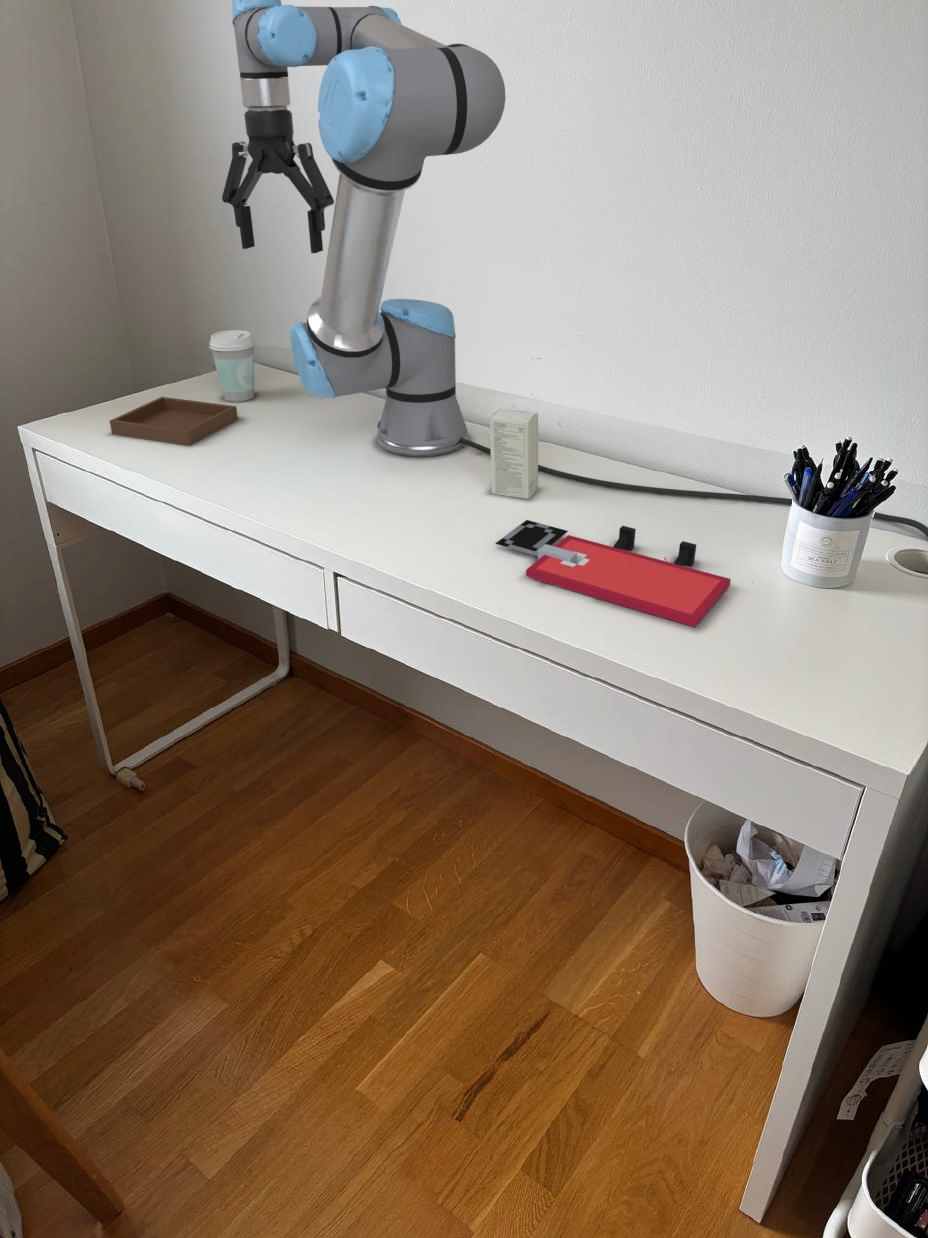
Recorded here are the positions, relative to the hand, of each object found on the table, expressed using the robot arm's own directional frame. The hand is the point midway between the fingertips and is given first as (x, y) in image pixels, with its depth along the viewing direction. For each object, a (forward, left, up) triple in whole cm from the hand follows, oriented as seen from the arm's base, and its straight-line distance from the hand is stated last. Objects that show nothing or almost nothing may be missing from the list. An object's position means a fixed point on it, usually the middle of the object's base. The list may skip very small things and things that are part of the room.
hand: (282, 249), depth 163 cm
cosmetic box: (-50, +21, -29) cm, 61 cm away
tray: (+17, +14, -29) cm, 36 cm away
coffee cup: (+16, -4, -29) cm, 33 cm away
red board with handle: (-70, +41, -29) cm, 86 cm away
